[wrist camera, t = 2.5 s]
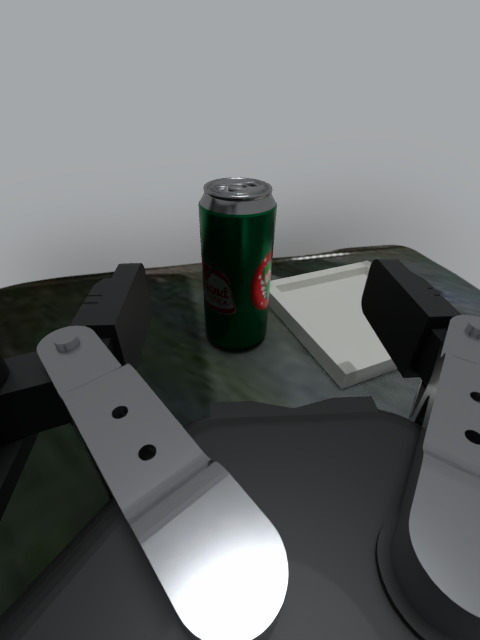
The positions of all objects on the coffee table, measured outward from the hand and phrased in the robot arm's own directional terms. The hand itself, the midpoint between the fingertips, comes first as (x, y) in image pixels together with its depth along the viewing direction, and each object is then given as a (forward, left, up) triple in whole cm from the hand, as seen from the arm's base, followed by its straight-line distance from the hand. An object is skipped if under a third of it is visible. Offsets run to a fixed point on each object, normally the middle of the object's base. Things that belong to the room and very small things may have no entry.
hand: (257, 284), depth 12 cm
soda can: (+4, +11, -12) cm, 16 cm away
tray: (+15, +9, -12) cm, 21 cm away
